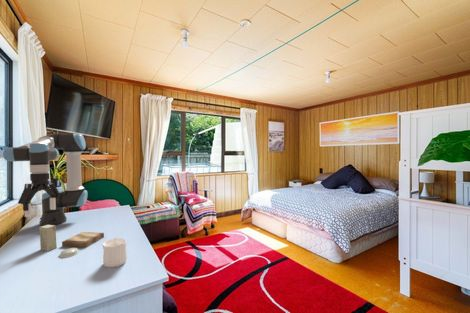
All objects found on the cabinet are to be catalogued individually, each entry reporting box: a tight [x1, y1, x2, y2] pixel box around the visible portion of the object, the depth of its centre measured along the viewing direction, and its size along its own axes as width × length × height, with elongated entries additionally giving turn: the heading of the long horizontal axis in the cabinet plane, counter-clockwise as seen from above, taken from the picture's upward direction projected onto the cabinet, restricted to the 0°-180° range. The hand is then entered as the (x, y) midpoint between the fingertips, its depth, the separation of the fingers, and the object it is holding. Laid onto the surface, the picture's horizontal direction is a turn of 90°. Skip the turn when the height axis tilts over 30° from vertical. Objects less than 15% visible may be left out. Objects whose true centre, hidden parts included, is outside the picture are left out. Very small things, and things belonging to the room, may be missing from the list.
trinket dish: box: [58, 247, 80, 259], centre depth 111 cm, size 8×8×2 cm
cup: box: [102, 237, 128, 268], centre depth 101 cm, size 10×10×10 cm
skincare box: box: [39, 225, 58, 252], centre depth 116 cm, size 6×4×12 cm
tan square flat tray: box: [61, 231, 105, 248], centre depth 125 cm, size 14×14×3 cm
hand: (41, 213), depth 114 cm, fingers open, 13 cm apart
